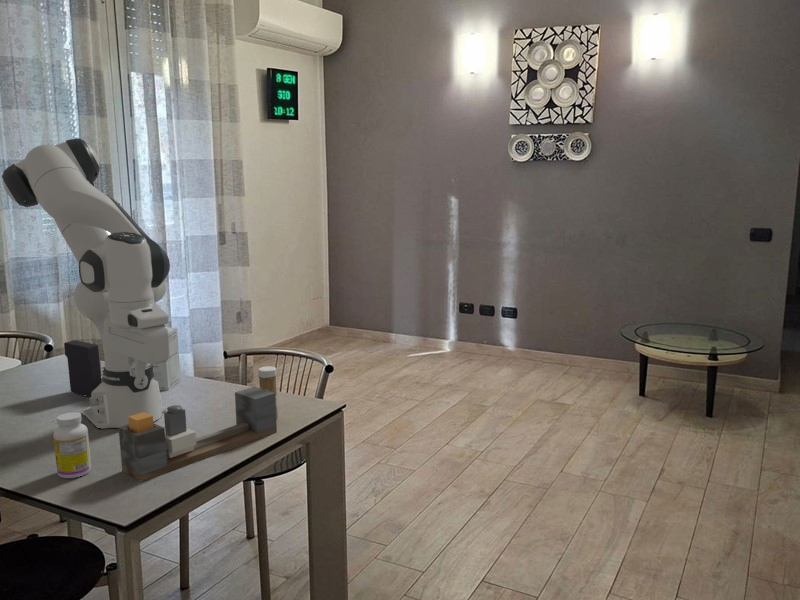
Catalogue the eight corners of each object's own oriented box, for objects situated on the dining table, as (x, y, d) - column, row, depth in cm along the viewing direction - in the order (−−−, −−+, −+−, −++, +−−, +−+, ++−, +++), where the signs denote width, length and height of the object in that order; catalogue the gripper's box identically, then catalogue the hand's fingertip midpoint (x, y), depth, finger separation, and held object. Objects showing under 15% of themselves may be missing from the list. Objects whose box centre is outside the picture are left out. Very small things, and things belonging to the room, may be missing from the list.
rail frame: (122, 471, 152) (118, 427, 150) (256, 424, 179) (254, 386, 177) (141, 481, 147) (138, 436, 145) (276, 431, 174) (275, 393, 172)
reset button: (130, 439, 150) (128, 416, 149) (145, 434, 153) (143, 412, 152) (138, 443, 148) (137, 420, 147) (154, 438, 151) (152, 415, 150)
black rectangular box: (105, 395, 202) (100, 344, 200) (91, 399, 199) (87, 347, 196) (82, 388, 208) (77, 339, 205) (68, 392, 205) (63, 342, 202)
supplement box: (152, 380, 216) (148, 326, 213) (181, 380, 215) (178, 326, 212) (138, 389, 207) (133, 333, 204) (168, 390, 206) (164, 334, 203)
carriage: (157, 452, 157) (154, 408, 155) (181, 444, 162) (178, 401, 160) (172, 459, 153) (169, 414, 151) (196, 451, 158) (194, 407, 156)
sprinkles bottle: (281, 419, 183) (279, 368, 180) (264, 422, 180) (262, 371, 178) (273, 413, 186) (271, 364, 184) (257, 417, 184) (255, 367, 181)
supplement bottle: (64, 467, 154) (58, 410, 152) (95, 465, 155) (90, 409, 153) (52, 480, 148) (46, 422, 145) (85, 479, 148) (79, 420, 146)
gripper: (93, 308, 150) (98, 371, 152) (144, 321, 136) (149, 390, 139) (121, 303, 154) (126, 364, 157) (173, 316, 141) (177, 382, 144)
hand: (137, 377), depth 148 cm, fingers closed
